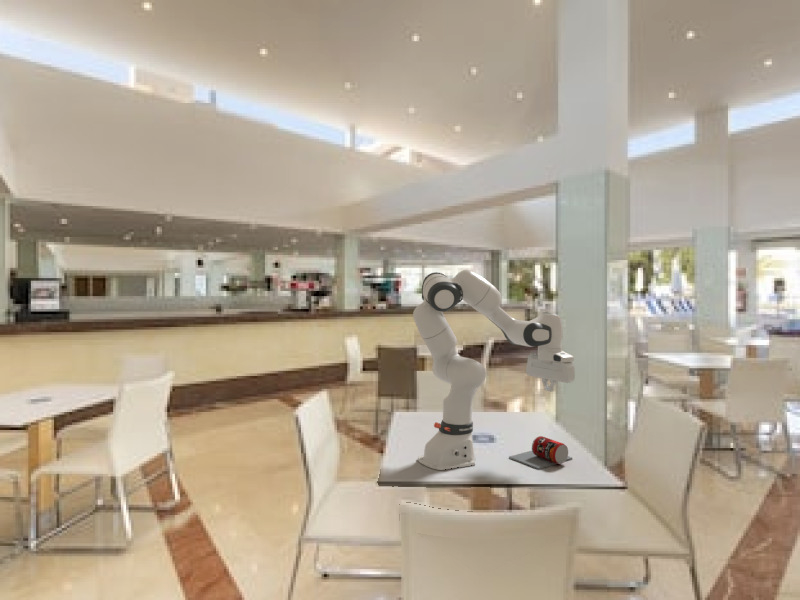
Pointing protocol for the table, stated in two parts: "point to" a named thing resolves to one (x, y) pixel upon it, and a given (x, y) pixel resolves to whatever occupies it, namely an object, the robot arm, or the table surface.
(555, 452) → the canned food
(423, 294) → the robot arm
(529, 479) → the table surface
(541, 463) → the mat
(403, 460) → the table surface
